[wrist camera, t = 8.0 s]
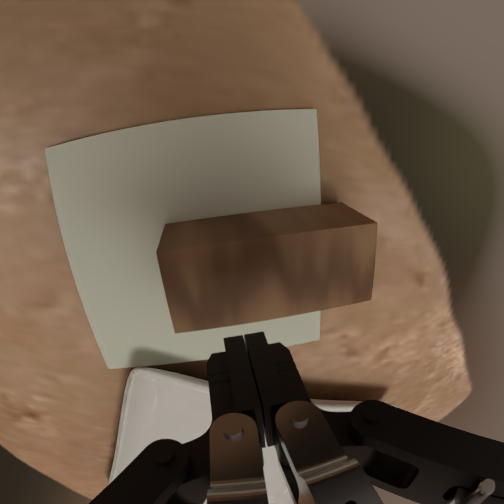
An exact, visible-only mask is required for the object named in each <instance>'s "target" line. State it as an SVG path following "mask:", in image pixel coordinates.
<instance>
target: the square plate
mask: <svg viewBox="0 0 504 504" xmlns="http://www.w3.org/2000/svg"><path fill="white" fill-rule="evenodd" d="M310 400H311V401H312V403H313V404H314V405H316V406H317V407H318V408H320V409H322V410H325V411H330V412H351V411H352V409H353V408H354V407H355V406H356V405H357V404H359V403H361V402H363V401H342V400H320V399H310ZM389 405H392V406H394V407H397V405H395V404H389ZM211 422H212V412H211V403H210V394H209V383H208V381H206V380H203V379H199V378H195V377H191V376H187V375H183V374H179V373H175V372H170V371H166V370H161V369H155V368H141V367H137V368H134V369H133V370H132V371H131V372H130V374H129V376H128V379H127V383H126V387H125V391H124V396H123V402H122V409H121V415H120V421H119V428H118V434H117V442H116V448H115V454H114V459H113V464H112V468H111V473H110V477H109V481H108V485H109V484H110V483H111V482H112V481H113V480H114V479H115V478H116V477H117V476H118V475H119V474H120V473H121V472H122V471H123V470H124V469H125V468H126V467H127V466H128V465H129V464H130V463H131V462H132V461H133V460H134V459H135V458H136V457H137V456H138V455H139V454H140V453H141V452H142V451H143V450H144V449H145V448H146V447H147V446H148V445H149V444H150V443H152V442H154V441H156V440H159V439H173V440H176V441H178V442H180V443H182V444H184V443H186V442H189V441H191V440H194V439H196V438H198V437H200V436H202V435H203V434H204V433H205V432H206V431H207V430H208V429H209V427H210V425H211ZM264 436H265V435H264ZM265 446H266V448H262V451H263V459H264V467H263V471H264V477H265V484H266V490H267V496H268V503H269V504H294V503H293V500H292V498H291V495H290V493H289V491H288V488H287V486H286V483H285V481H284V478H283V476H282V473H281V470H280V468H279V465H278V457H277V453H276V449H275V446H270V447H268V446H267V443H266V439H265ZM108 485H107V486H108ZM203 504H207V499H206V500H205V502H204V503H203Z"/></svg>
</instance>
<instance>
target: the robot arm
mask: <svg viewBox="0 0 504 504" xmlns="http://www.w3.org/2000/svg"><path fill="white" fill-rule="evenodd" d="M223 339H224V345H225V352H219V353H212V354H211V355H210V358H209V360H208V362H207V374H208V383H209V394H210V403H211V412H212V422H211V425H210V427H209V429H208V430H207V431H206V432H205V433H204V434H203V435H202V436H200V437H198V438H196V439H194V440H191V441H189V442H186V443H184V444H182V443H180V442H178V441H176V440H173V439H159V440H156V441H154V442H152V443H150V444H149V445H148V446H147V447H146V448H145V449H144V450H143V451H142V452H141V453H140V454H139V455H138V456H137V457H136V458H135V459H134V460H133V461H132V462H131V463H130V464H129V465H128V466H127V467H126V468H125V469H124V470H123V471H122V472H121V473H120V474H119V475H118V476H117V477H116V478H115V479H114V480H113V481H112V482H111V483H110V484H109V485H108V486H107V487H106V488H105V489H104V490H103V491H102V492H101V493H100V494H99V495H97V496H96V497H95V498H94V499H93V500H92V501H91V502H90V503H89V504H203V503H204V502H205V500H206V499H207V504H269V503H268V496H267V490H266V484H265V477H264V471H263V467H264V459H263V451H262V448H266V446H265V439H266V443H267V446H268V447H270V446H275V449H276V453H277V457H278V465H279V468H280V470H281V473H282V476H283V478H284V481H285V483H286V486H287V488H288V491H289V493H290V495H291V498H292V500H293V503H294V504H384V503H383V502H382V500H381V498H380V497H379V495H378V493H377V492H376V490H375V488H374V487H373V485H374V486H377V487H379V488H382V489H384V490H386V491H389V492H391V493H394V494H396V495H399V496H401V497H404V498H407V499H409V500H412V501H415V502H417V503H420V504H504V443H503V442H499V441H496V440H492V439H489V438H485V437H482V436H479V435H475V434H472V433H469V432H466V431H463V430H459V429H456V428H453V427H450V426H447V425H444V424H441V423H438V422H435V421H433V420H430V419H427V418H424V417H421V416H418V415H416V414H413V413H410V412H408V411H405V410H402V409H400V408H397V407H394V406H392V405H389V404H387V403H384V402H381V401H377V400H367V401H363V402H361V403H359V404H357V405H356V406H355V407H354V408H353V409H352V411H351V412H330V411H325V410H322V409H320V408H318V407H317V406H316V405H314V404H313V403H312V401H311V400H310V398H309V396H308V393H307V391H306V389H305V386H304V384H303V382H302V379H301V377H300V374H299V372H298V370H297V367H296V365H295V363H294V361H293V358H292V356H291V353H290V351H289V349H288V348H286V347H285V346H284V345H283V344H282V343H280V342H277V343H272V344H268V342H267V340H266V337H265V334H264V332H263V331H262V332H257V333H251V334H245V335H244V338H243V335H239V336H233V337H226V338H223ZM244 341H245V342H244ZM264 435H265V436H264Z"/></svg>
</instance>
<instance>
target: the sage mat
mask: <svg viewBox="0 0 504 504" xmlns="http://www.w3.org/2000/svg"><path fill="white" fill-rule="evenodd" d="M45 154H46V160H47V167H48V173H49V179H50V184H51V189H52V195H53V199H54V204H55V209H56V213H57V218H58V222H59V226H60V230H61V234H62V238H63V242H64V246H65V249H66V253H67V257H68V260H69V263H70V267H71V270H72V273H73V277H74V280H75V283H76V286H77V289H78V292H79V295H80V298H81V301H82V304H83V307H84V309H85V312H86V315H87V318H88V320H89V323H90V325H91V328H92V331H93V333H94V336H95V338H96V341H97V343H98V346H99V348H100V350H101V353H102V355H103V357H104V360H105V362H106V364H107V366H108V369H114V368H129V367H142V366H153V365H163V364H173V363H182V362H191V361H199V360H206V359H209V358H210V355H211V354H212V353H219V352H225V345H224V339H223V338H226V337H233V336H239V335H243V338H244V335H245V334H251V333H257V332H262V331H263V332H264V334H265V337H266V340H267V342H268V344H272V343H277V342H280V343H282V344H283V345H284V346H285V347H287V346H292V345H297V344H302V343H307V342H311V341H316V340H319V337H320V311H321V310H320V311H315V312H310V313H305V314H300V315H294V316H289V317H283V318H277V319H271V320H266V321H260V322H253V323H247V324H241V325H234V326H228V327H221V328H214V329H207V330H199V331H192V332H184V333H176V334H175V332H174V328H173V324H172V320H171V316H170V312H169V308H168V304H167V300H166V295H165V291H164V287H163V282H162V278H161V273H160V269H159V264H158V259H157V254H156V251H157V248H158V245H159V242H160V238H161V235H162V232H163V229H164V226H165V224H168V223H175V222H182V221H189V220H196V219H203V218H211V217H218V216H226V215H234V214H241V213H249V212H258V211H266V210H274V209H283V208H292V207H301V206H310V205H320V204H321V187H320V161H319V141H318V124H317V110H316V109H290V110H267V111H252V112H239V113H228V114H218V115H209V116H200V117H192V118H185V119H178V120H171V121H165V122H159V123H153V124H147V125H141V126H136V127H131V128H126V129H121V130H116V131H112V132H107V133H103V134H98V135H94V136H90V137H86V138H82V139H78V140H74V141H70V142H67V143H63V144H59V145H56V146H52V147H49V148H46V149H45ZM244 342H245V341H244Z"/></svg>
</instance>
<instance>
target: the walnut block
mask: <svg viewBox="0 0 504 504" xmlns="http://www.w3.org/2000/svg"><path fill="white" fill-rule="evenodd" d="M376 238H377V223H376V222H375V221H373V220H371V219H370V218H368V217H366V216H365V215H363V214H361V213H359V212H358V211H356V210H354V209H352V208H351V207H349V206H347V205H345V204H343V203H342V202H340V203H330V204H320V205H310V206H301V207H292V208H283V209H274V210H266V211H258V212H249V213H241V214H234V215H226V216H218V217H211V218H203V219H196V220H189V221H182V222H175V223H168V224H165V226H164V229H163V232H162V235H161V238H160V242H159V245H158V248H157V251H156V254H157V259H158V264H159V269H160V273H161V278H162V282H163V287H164V291H165V295H166V300H167V304H168V308H169V312H170V316H171V320H172V324H173V328H174V332H175V334H176V333H184V332H192V331H199V330H207V329H214V328H221V327H228V326H234V325H241V324H247V323H253V322H260V321H266V320H271V319H277V318H283V317H289V316H294V315H300V314H305V313H310V312H315V311H320V310H325V309H330V308H335V307H340V306H345V305H350V304H354V303H359V302H363V301H368V300H371V297H372V288H373V278H374V267H375V254H376Z"/></svg>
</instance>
